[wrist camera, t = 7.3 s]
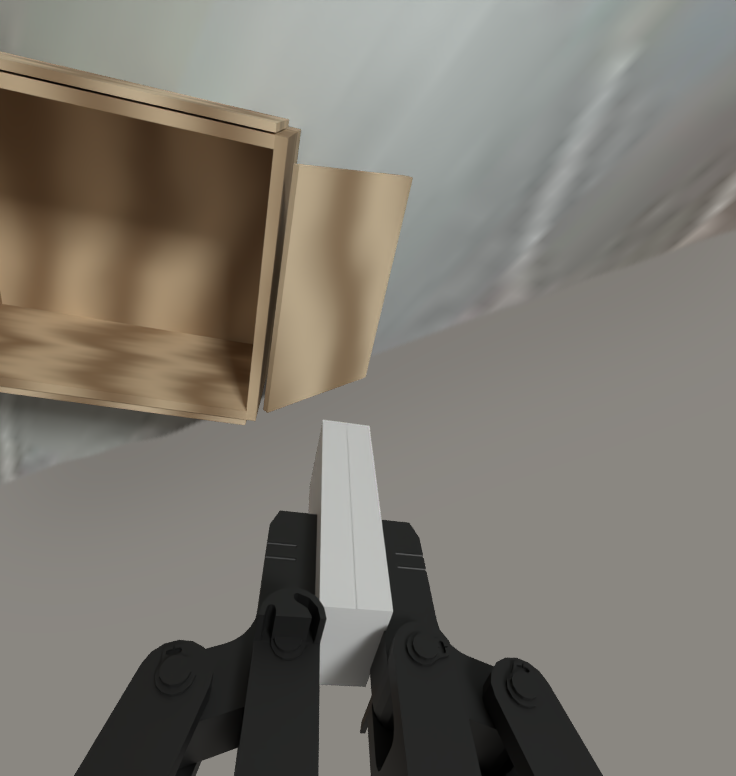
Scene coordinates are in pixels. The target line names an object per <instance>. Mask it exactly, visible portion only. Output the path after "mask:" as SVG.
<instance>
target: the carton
mask: <svg viewBox="0 0 736 776" xmlns="http://www.w3.org/2000/svg"><path fill="white" fill-rule="evenodd" d="M288 124H289V119H285V118H280V117H276V116H272V115H268V114H263V113H259V112H255V111H251V110H246V109H242V108H238V107H234V106H229V105H225V104H221V103H217V102H212V101H208V100H204V99H200V98H195V97H191V96H187V95H183V94H178V93H174V92H170V91H166V90H161V89H157V88H153V87H149V86H144V85H140V84H136V83H132V82H127V81H123V80H119V79H115V78H110V77H106V76H102V75H98V74H94V73H89V72H85V71H81V70H77V69H72V68H68V67H64V66H60V65H55V64H51V63H47V62H43V61H38V60H34V59H30V58H26V57H21V56H17V55H13V54H9V53H4V52H0V392H3V393H10V394H18V395H25V396H32V397H40V398H47V399H55V400H62V401H69V402H77V403H84V404H91V405H99V406H106V407H114V408H121V409H128V410H136V411H143V412H150V413H158V414H165V415H173V416H180V417H187V418H195V419H202V420H209V421H217V422H224V423H232V424H239V425H245V424H246V420H252V421H255V420H256V416H257V412H258V408H259V405H260V401H261V397H262V393H263V389H264V385H265V381H266V377H267V373H268V367H269V359H270V351H271V343H272V335H273V327H274V319H275V311H276V303H277V295H278V286H279V278H280V270H281V262H282V254H283V246H284V238H285V230H286V222H287V214H288V206H289V198H290V190H291V182H292V173H293V165H294V164H297V157H298V149H299V141H300V133H301V129H297V128H293V127H288Z"/></svg>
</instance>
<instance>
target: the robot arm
mask: <svg viewBox="0 0 736 776" xmlns="http://www.w3.org/2000/svg"><path fill="white" fill-rule="evenodd" d="M425 569H426V567H425V563H424V558H423V553H422V549H421V544H420V539H419V537H418V535H417V534H416V533H415V531H414V529H413V528H412V526H411V525H410V523H407V522H397V521H387V520H381V512H380V504H379V497H378V489H377V481H376V473H375V466H374V458H373V450H372V443H371V435H370V427H369V426H366V425H358V424H351V423H343V422H336V421H329V420H323V422H322V427H321V432H320V437H319V442H318V447H317V452H316V457H315V462H314V467H313V472H312V477H311V482H310V494H309V514H308V513H298V512H288V511H279V513H278V514H277V516H276V517H275V518H274V520H273V521H272V522H271V524H270V527H269V534H268V540H267V547H266V554H265V560H264V567H263V574H262V581H261V588H260V595H259V602H258V609H257V615H256V619H255V620H254V622H253V624H252V625H251V627H250V628H249V629H248V630H247V631H246V632H245V633H244V634H243V635H242V636H240V637H238V638H237V639H235V640H233V641H231V642H228V643H225V644H222V645H218V646H214V647H211V648H207V649H205V648H204V647H202V646H201V645H199V644H197V643H195V642H193V641H184V640H177V641H173V642H169V643H165V644H163V645H162V646H160V647H159V648H157V649H155V650H154V651H152V652H151V653H150V654H149V655H148V656H147V658H146V659H145V660H144V661H143V662H142V664H141V665H140V667H139V668H138V670H137V672H136V673H135V675H134V677H133V678H132V680H131V682H130V683H129V685H128V687H127V688H126V690H125V692H124V693H123V695H122V697H121V699H120V700H119V702H118V703H117V705H116V707H115V708H114V710H113V712H112V713H111V715H110V717H109V718H108V720H107V722H106V723H105V725H104V727H103V729H102V730H101V732H100V733H99V735H98V737H97V738H96V740H95V742H94V743H93V745H92V747H91V748H90V750H89V752H88V754H87V755H86V757H85V759H84V760H83V762H82V764H81V765H80V767H79V768H78V770H77V772H76V773H75V775H74V776H196V773H197V771H198V768H199V766H200V763H201V761H202V760H205V759H208V758H210V757H213V756H216V755H219V754H221V753H224V752H227V751H230V750H232V749H235V748H238V750H237V758H236V765H235V772H234V776H318V757H319V755H318V753H319V752H318V751H319V685H339V686H363V687H365V686H366V684H367V681H368V679H369V675H370V678H371V691H372V696H371V699H370V701H369V704H368V707H367V709H366V712H365V714H364V717H363V719H362V722H361V730H360V733H365V732H366V730H367V727H368V737H369V754H370V770H371V776H603V775H602V773H601V772H600V770H599V768H598V767H597V765H596V763H595V761H594V760H593V758H592V756H591V755H590V753H589V751H588V749H587V748H586V746H585V744H584V743H583V741H582V739H581V738H580V736H579V734H578V733H577V731H576V729H575V728H574V726H573V724H572V722H571V721H570V719H569V717H568V716H567V714H566V712H565V711H564V709H563V707H562V705H561V704H560V702H559V700H558V699H557V697H556V695H555V694H554V692H553V691H552V688H551V687H550V685H549V684H548V682H547V681H546V679H545V678H544V677H543V675H542V674H541V673H540V672H539V671H538V670H537V669H536V668H534V667H533V666H532V665H531V664H529V663H528V662H525V661H523V660H520V659H518V658H504V659H502V660H500V661H498V662H496V664H495V666H491V665H489V664H486V663H484V662H481V661H479V660H476V659H474V658H471V657H469V656H466V655H465V654H462V653H461V652H459V651H458V650H457V649H455V648H454V647H453V646H451V644H450V642H449V640H448V639H447V638H446V637H445V636H444V634H443V633H442V632H441V631H440V629H439V626H438V623H437V620H436V616H435V610H434V605H433V602H432V596H431V592H430V586H429V582H428V577H427V572H426V571H425Z"/></svg>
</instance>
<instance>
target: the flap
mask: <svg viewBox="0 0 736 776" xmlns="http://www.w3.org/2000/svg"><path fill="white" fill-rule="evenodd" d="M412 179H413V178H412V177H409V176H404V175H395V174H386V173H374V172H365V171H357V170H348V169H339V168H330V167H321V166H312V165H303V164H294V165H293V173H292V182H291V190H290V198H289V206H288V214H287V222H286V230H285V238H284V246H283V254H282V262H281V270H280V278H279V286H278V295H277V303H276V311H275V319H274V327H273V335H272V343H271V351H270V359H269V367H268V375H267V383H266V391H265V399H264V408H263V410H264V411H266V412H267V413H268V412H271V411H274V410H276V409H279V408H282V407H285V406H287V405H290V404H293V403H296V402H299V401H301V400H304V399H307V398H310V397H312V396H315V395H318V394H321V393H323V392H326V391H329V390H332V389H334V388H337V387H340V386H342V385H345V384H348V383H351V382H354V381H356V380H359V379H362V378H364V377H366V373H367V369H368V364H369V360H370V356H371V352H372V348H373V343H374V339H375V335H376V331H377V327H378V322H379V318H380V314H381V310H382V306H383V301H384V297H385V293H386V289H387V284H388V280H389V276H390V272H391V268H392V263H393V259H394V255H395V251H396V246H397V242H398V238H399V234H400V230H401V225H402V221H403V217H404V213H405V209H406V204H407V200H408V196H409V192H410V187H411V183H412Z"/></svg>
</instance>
